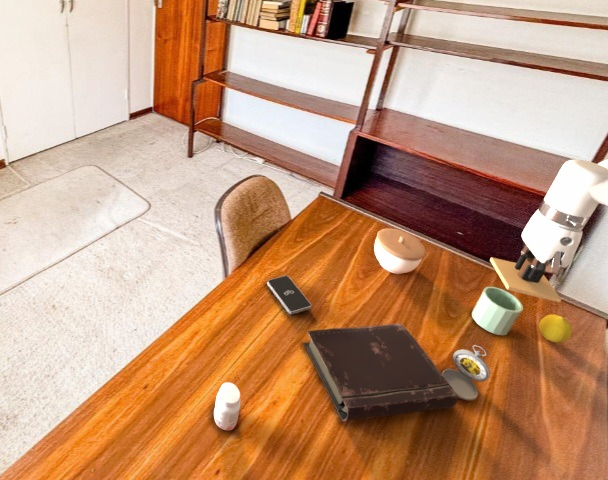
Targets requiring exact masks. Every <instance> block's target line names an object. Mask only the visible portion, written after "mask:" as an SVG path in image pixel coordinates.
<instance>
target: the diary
mask: <svg viewBox="0 0 608 480" xmlns="http://www.w3.org/2000/svg"><path fill="white" fill-rule="evenodd" d="M306 333H307V335H308V337H309V339H310V341H309V342H303V343H302V344H303V346H304V348H305V350H306V352H307V354H308V357H309V358H310V360H311V362H312V364H313V366H314V368H315V370H316V372H317V374H318V376H319V378H320V380H321V382H322V384H323V386H324V388H325V390H326V392H327V394H328V396H329V398H330V399H331V401H332V404H333V406H334V408H335V410H336V411H337V413H338V416H339V417H340V420H341V421H342V422H350V421H358V420H362V419H369V418H378V417H386V416H387V417H388V416H389V417H390V416H397V415H406V414H411V413H417V412H423V411H433V410H445V409H452V408H454V407H455V406H456V404H457V403H458V400H459V397H458V394H457V393H456V392H455V391H454V389H453V388H452V387H451V386H450V384H449V383H448V382H447V380H446V379H445V378H444V377H443V375H442V372H441V371H440V369H438V367H437V366H436V364H435V363H434V362H433V360H432V359H431V357H430V356H429V355H428V354H427V352H426V351H425V350H424V349H423V348H422V346H421V344H420V343H419V342H418V341H417V340H416V339H415V337H414V336H413V335H412V334H411V333H410V331H409V330H408V329H407V328H406V327H405V326H404V324H403V323H390V324H389V323H388V324H379V325H377V324H376V325H367V326H357V327H339V328H337V327H336V328H335V327H334V328H324V329H315V330H314V329H313V330H306Z"/></svg>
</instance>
